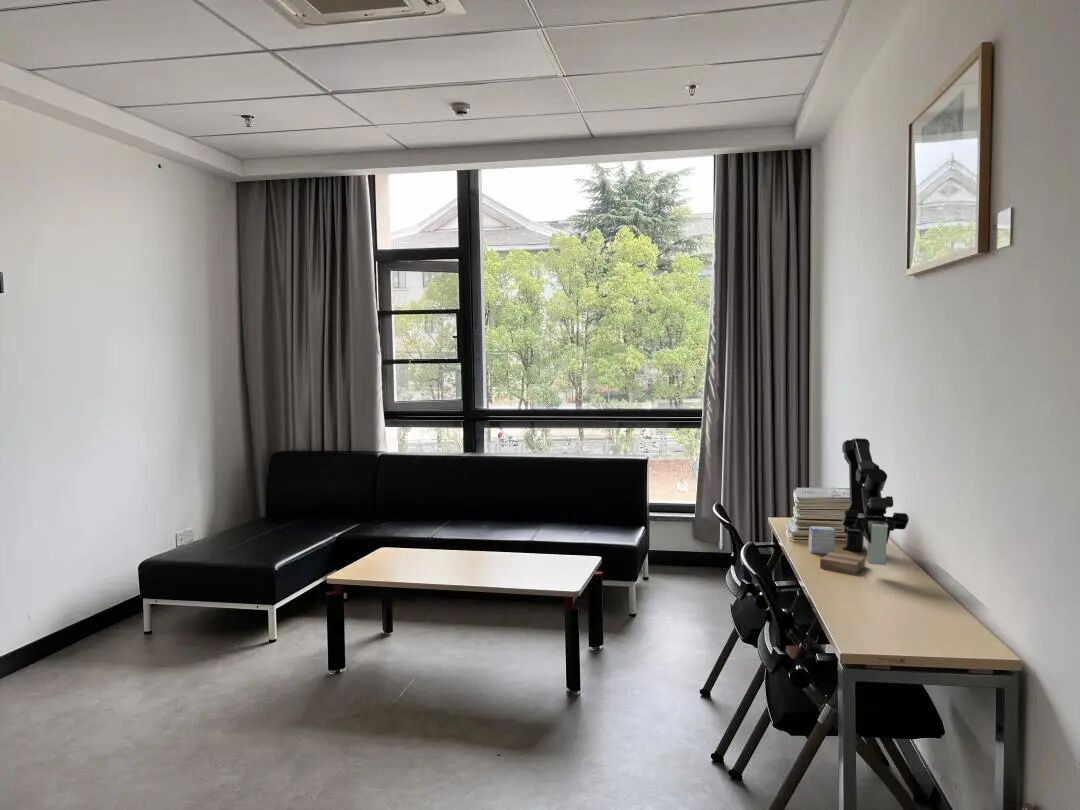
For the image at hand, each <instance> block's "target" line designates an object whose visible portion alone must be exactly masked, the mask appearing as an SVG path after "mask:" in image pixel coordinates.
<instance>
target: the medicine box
mask: <svg viewBox="0 0 1080 810" xmlns="http://www.w3.org/2000/svg"><path fill="white" fill-rule="evenodd" d="M835 543H836V529H834V528H833V527H832V526H814V525H813V526H811V525H810V526H809V529H808V547H807V548H808V551H809V552H810V553H811V554H821V555H822V554H825V555H827V554H828V553H829V552H835V546H836V544H835Z"/></svg>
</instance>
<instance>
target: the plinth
mask: <svg viewBox="0 0 1080 810" xmlns="http://www.w3.org/2000/svg"><path fill="white" fill-rule="evenodd" d="M819 561H820V564H819V568H820V569H825V570H829V569H830V571H835V570H836V572H840V571H843V572H842V573H845V572H849V573H848V574H851V573H854V574H853V575H857V574H858V573H859V572H860V571H861V570H863V568H865V567H864V566H866V563H865V562H866V557H863V556H859V555H858V556H857V555H851V554H846V553H839V552H835V551H834V552H829V553H828V554H825V555H824V556H823V557H821V558H820V560H819ZM859 570H860V571H859ZM858 571H859V572H858ZM857 572H858V573H857ZM856 573H857V574H856Z"/></svg>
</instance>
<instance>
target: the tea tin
mask: <svg viewBox="0 0 1080 810" xmlns="http://www.w3.org/2000/svg"><path fill="white" fill-rule="evenodd" d="M868 523H869V533H870V539H871V542H870V543H869V542H868V541H867V547H866V549H867V551H866V561H867V562H868V563H869V565H876V566H877V565H878V566H879V565H880V566H886V561H887V544H888V542H887V528H888V524H887V523H886V522H885V521H870V520H869V522H868Z"/></svg>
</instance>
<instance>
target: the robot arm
mask: <svg viewBox="0 0 1080 810" xmlns="http://www.w3.org/2000/svg"><path fill="white" fill-rule="evenodd" d="M870 445H871V444H870V441H869V439H867V438H857V437H855V438H853V439H850V440H849V439H846V440H845V441H844V442H842V448H841V450H842V453H843V458H844V460H845V462H846V463H847V464H848V471H849V473H848V474H849V475H848V476H849V479H848V480H849V505H848V507H847V508H846V510H844V513H843V515H842V521H841V522H842V523H841V531H842V532H843V533H844V534H846V537H845V539H846V540H845V546H843V547H842V549H843V550H848V551H853V552H859V553H862V552H863V551H865V550H866V549H867V547H866V546H864V539H865V540H866V541H867V543H868V542H869V543H870V542H871V539H870V533H869V523H868V522H869V520H870V521H885V522H886V523H887V524H888V528H887V543H888V542H889V537H890V533H891V531H892V532H893V531H895V530H906V528H907V526H908V524H909V519H910V518H909V514H907V513H906V512H893V515H892V516H885V515H886V514H887V509H888V508H893V506H894V499H893V498H894V497H893V496H889V495H886V496H885V497H882V491H883V490H884V487H885V484H886V482H887V479H888V474H887V473H886V472H885V471H884V469H881V468H880V466H879V465H878V464H876V463H875V462H874V461H873V457H872V455H871V451H870V450H871V449H870Z"/></svg>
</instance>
